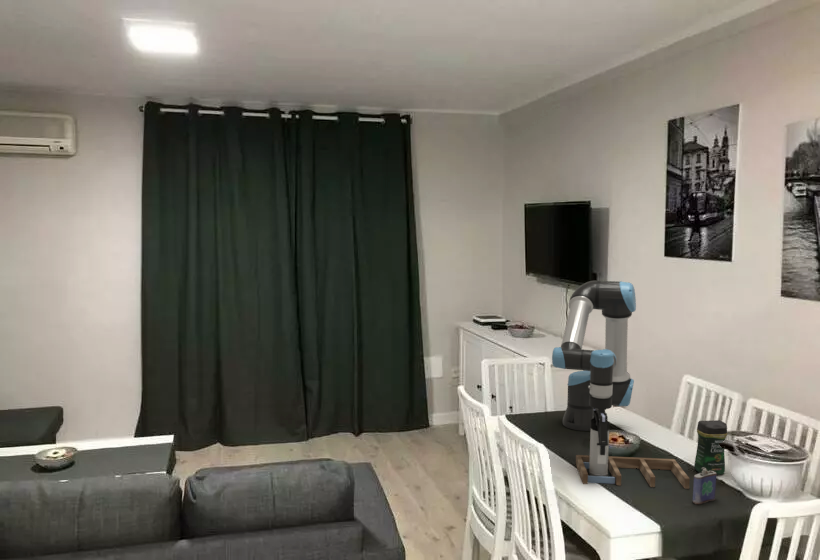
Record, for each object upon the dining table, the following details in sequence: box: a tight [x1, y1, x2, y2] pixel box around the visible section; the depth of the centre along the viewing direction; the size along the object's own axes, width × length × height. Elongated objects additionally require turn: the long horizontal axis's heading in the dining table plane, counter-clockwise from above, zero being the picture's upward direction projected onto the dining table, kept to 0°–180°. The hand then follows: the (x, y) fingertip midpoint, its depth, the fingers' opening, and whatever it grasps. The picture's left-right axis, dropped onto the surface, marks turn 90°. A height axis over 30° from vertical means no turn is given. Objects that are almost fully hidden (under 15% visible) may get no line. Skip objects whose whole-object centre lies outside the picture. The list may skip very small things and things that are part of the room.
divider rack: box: [575, 454, 691, 490], centre depth 232 cm, size 18×34×4 cm, turn 84°
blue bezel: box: [583, 462, 616, 485], centre depth 232 cm, size 14×9×2 cm, turn 174°
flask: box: [692, 467, 718, 505], centre depth 212 cm, size 9×3×11 cm, turn 117°
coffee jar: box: [694, 419, 728, 476], centre depth 235 cm, size 10×8×19 cm
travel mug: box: [588, 419, 610, 477], centre depth 231 cm, size 6×7×20 cm
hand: (598, 457), depth 232 cm, fingers open, 11 cm apart
